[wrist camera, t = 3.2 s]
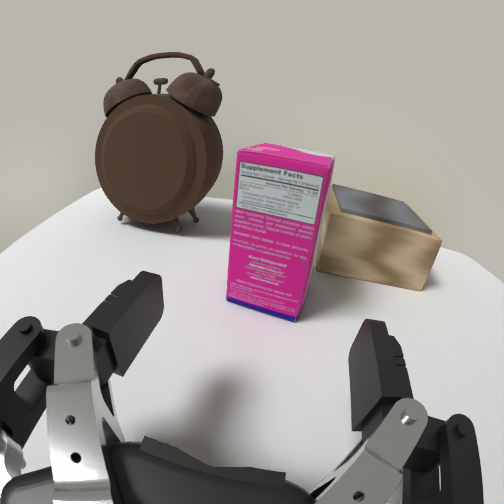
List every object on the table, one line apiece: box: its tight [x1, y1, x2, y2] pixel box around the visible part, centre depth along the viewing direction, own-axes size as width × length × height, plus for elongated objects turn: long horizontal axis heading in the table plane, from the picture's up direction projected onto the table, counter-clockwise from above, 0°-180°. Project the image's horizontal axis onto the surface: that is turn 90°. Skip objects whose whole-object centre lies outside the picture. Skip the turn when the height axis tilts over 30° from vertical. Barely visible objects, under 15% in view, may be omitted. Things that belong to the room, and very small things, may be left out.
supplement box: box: [226, 143, 335, 322], centre depth 20 cm, size 6×6×12 cm
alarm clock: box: [95, 52, 223, 232], centre depth 28 cm, size 14×7×20 cm, turn 79°
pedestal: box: [316, 184, 442, 291], centre depth 30 cm, size 12×12×6 cm
